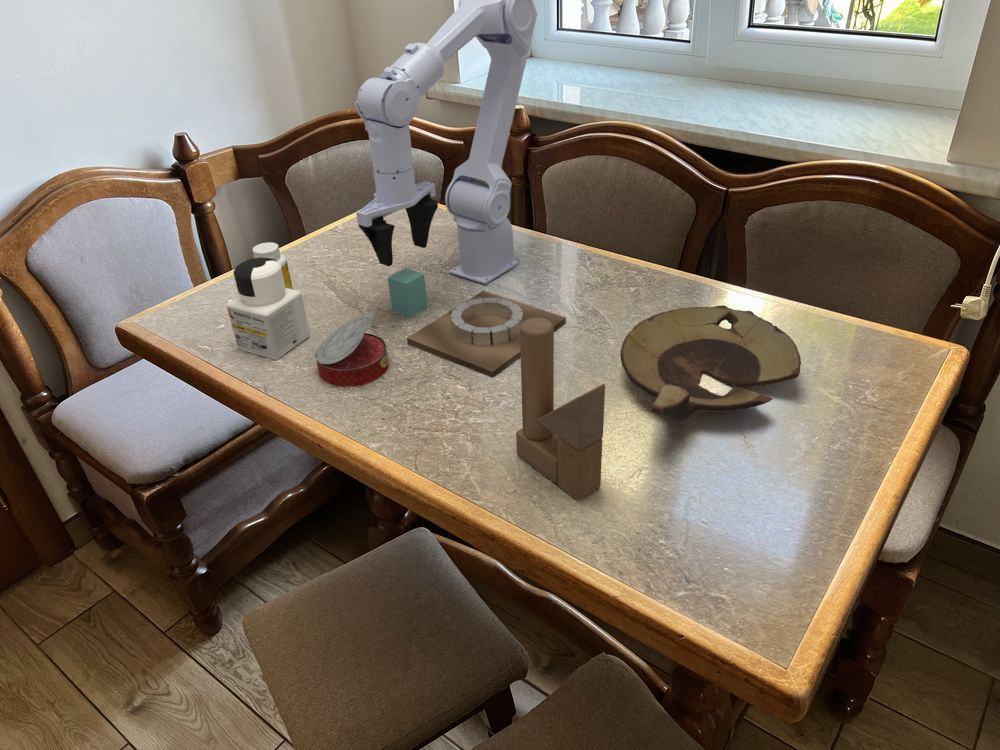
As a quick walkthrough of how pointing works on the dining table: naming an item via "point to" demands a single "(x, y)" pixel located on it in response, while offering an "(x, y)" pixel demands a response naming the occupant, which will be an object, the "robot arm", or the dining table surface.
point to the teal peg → (407, 292)
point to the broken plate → (706, 359)
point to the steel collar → (483, 334)
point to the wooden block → (557, 418)
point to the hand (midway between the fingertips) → (403, 254)
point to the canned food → (352, 354)
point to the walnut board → (477, 358)
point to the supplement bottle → (274, 253)
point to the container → (266, 310)
